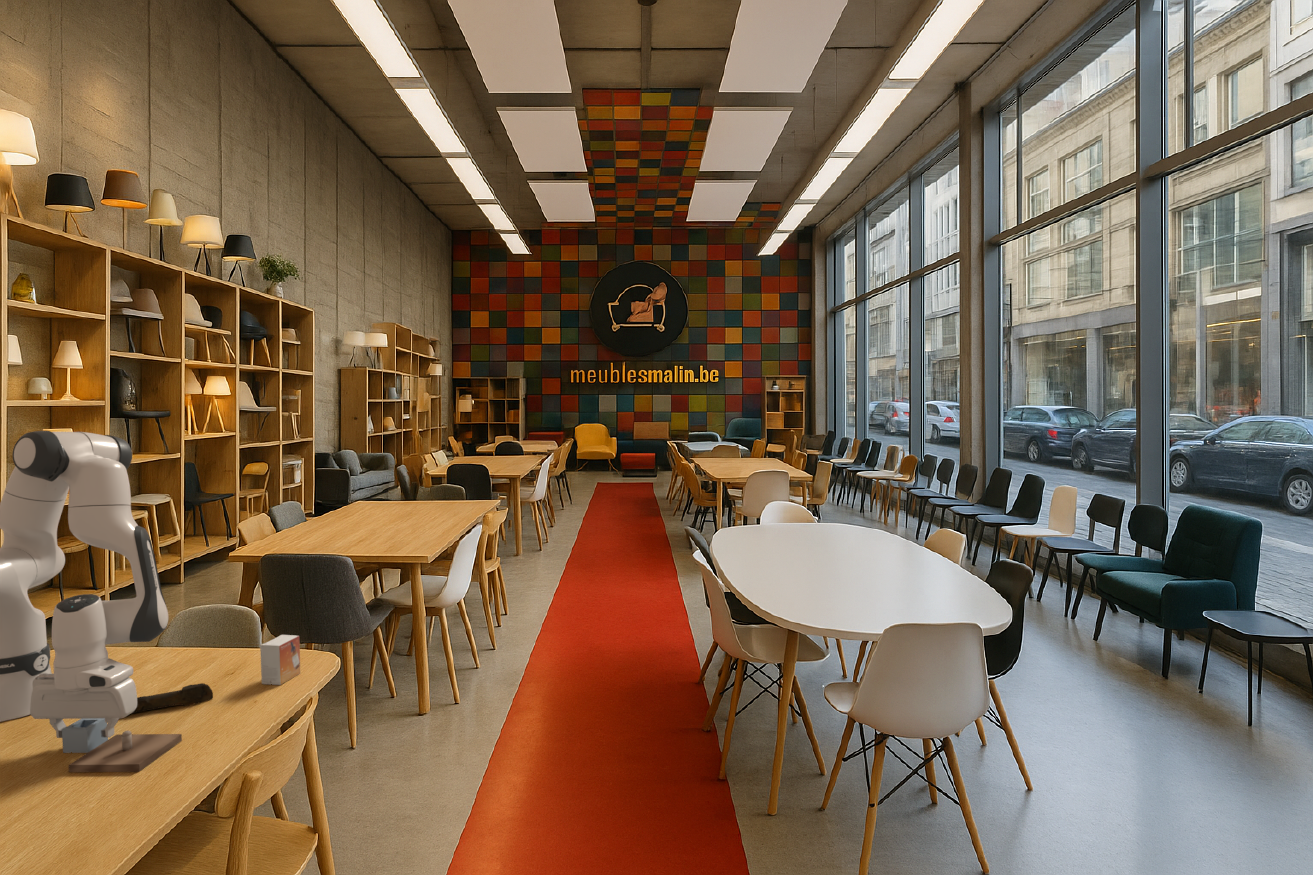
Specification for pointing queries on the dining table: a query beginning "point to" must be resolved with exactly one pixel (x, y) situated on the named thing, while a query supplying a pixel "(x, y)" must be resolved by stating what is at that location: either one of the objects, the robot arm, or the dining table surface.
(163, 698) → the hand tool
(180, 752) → the dining table surface
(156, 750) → the mounting plate
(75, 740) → the collar
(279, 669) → the small box
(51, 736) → the dining table surface
